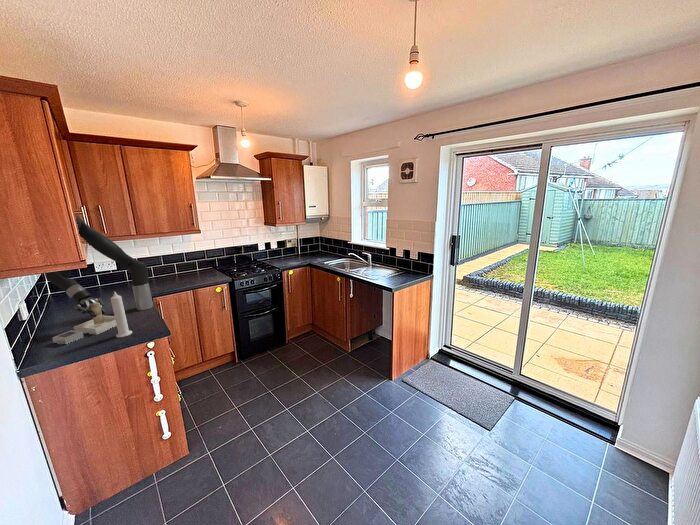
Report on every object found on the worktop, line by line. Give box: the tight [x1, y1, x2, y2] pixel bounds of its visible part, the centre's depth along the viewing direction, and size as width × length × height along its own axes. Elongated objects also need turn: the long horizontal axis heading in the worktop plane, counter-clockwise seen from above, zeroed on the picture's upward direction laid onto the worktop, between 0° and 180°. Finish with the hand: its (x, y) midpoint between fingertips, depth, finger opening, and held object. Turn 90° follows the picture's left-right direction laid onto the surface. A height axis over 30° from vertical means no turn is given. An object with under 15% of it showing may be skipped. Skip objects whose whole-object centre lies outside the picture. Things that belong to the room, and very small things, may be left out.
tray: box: [73, 314, 117, 335], centre depth 166 cm, size 16×16×4 cm
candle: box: [110, 291, 133, 339], centre depth 153 cm, size 7×7×25 cm
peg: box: [90, 303, 104, 325], centre depth 165 cm, size 4×4×12 cm
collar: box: [52, 329, 85, 345], centre depth 151 cm, size 8×8×4 cm
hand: (100, 314), depth 165 cm, fingers closed on peg, 4 cm apart
